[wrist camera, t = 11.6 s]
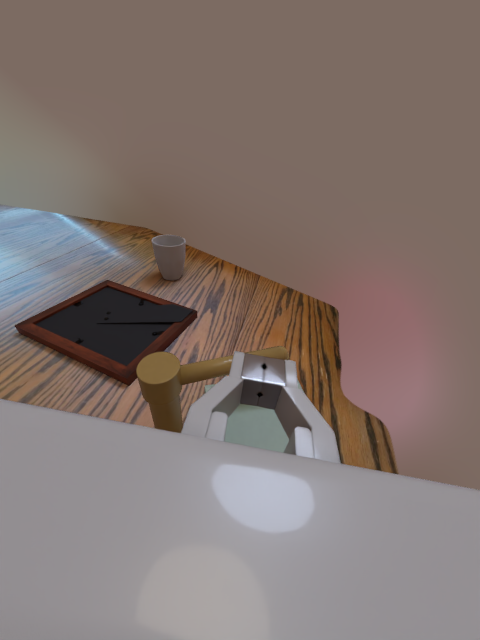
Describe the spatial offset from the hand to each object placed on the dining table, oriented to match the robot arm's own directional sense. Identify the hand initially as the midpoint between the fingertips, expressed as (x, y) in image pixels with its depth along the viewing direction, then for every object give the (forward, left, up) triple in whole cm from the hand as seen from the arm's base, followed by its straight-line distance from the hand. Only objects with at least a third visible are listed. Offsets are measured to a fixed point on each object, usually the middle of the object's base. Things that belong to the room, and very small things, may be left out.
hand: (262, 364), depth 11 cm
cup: (+45, -28, -23) cm, 58 cm away
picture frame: (+36, -7, -23) cm, 43 cm away
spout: (+5, -3, -10) cm, 11 cm away
